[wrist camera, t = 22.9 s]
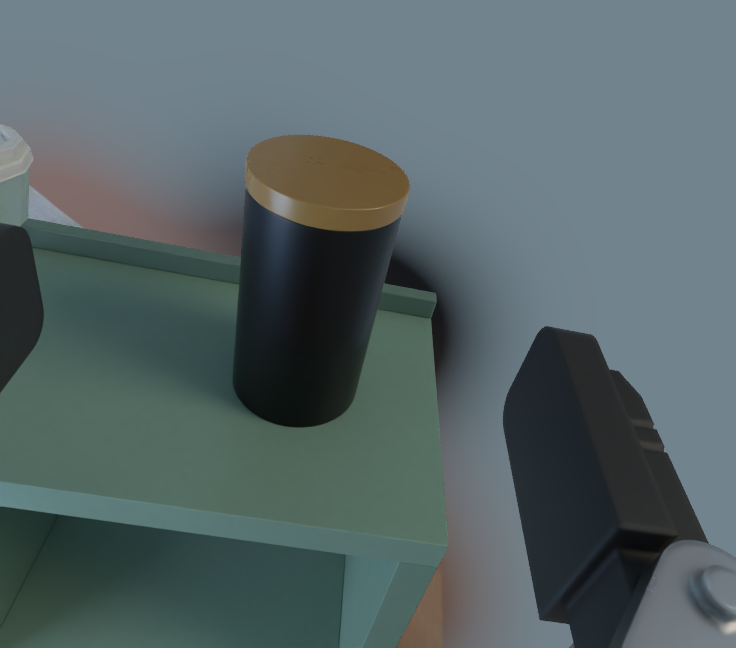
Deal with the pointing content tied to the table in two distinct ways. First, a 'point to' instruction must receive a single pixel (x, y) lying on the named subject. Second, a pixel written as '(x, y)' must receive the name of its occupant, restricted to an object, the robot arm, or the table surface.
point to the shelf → (205, 469)
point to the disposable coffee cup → (14, 177)
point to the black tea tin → (311, 273)
